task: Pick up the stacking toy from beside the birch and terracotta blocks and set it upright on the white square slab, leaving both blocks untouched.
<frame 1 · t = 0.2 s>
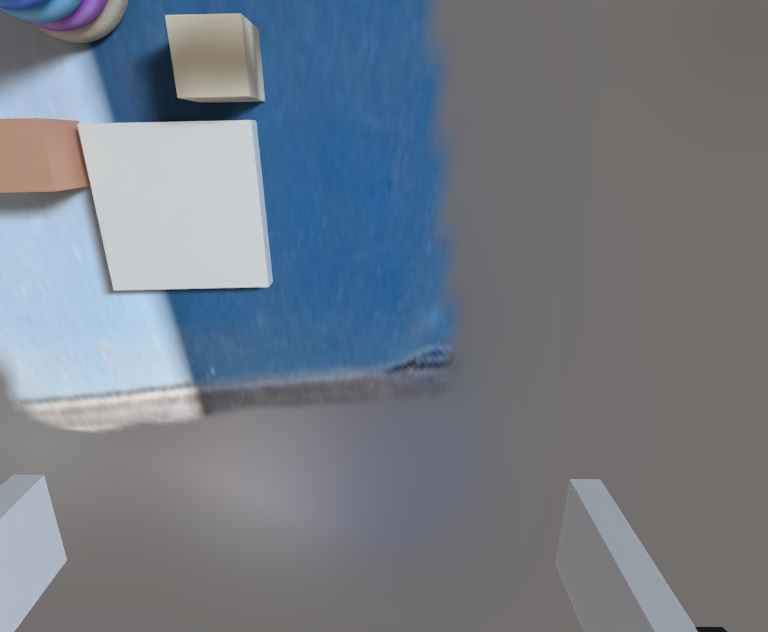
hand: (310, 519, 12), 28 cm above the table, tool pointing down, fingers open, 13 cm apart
terracotta block: (55, 154, 36), on the table
birch block: (229, 67, 34), on the table
white square slab: (186, 207, 37), on the table
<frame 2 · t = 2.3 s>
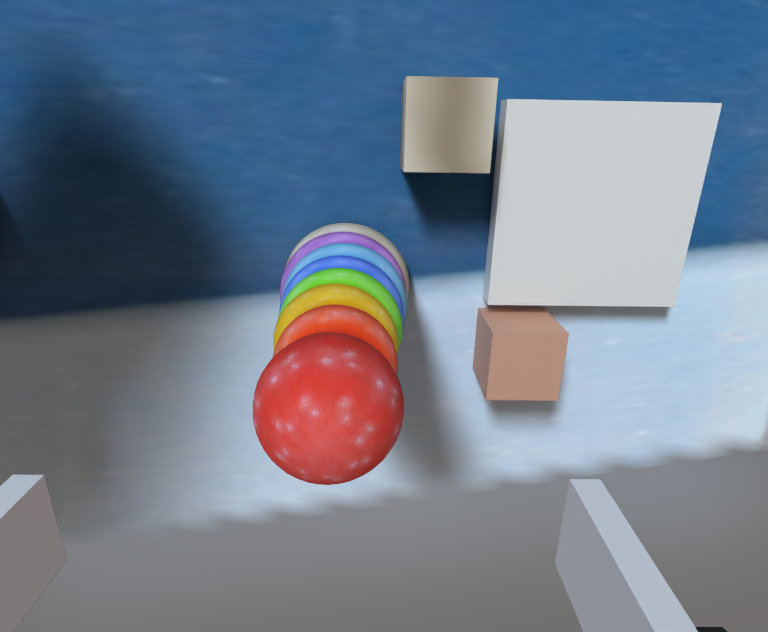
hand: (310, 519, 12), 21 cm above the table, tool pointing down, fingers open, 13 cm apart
terracotta block: (507, 338, 34), on the table
stacking toy: (347, 280, 32), on the table
birch block: (439, 127, 29), on the table
white square slab: (586, 207, 30), on the table
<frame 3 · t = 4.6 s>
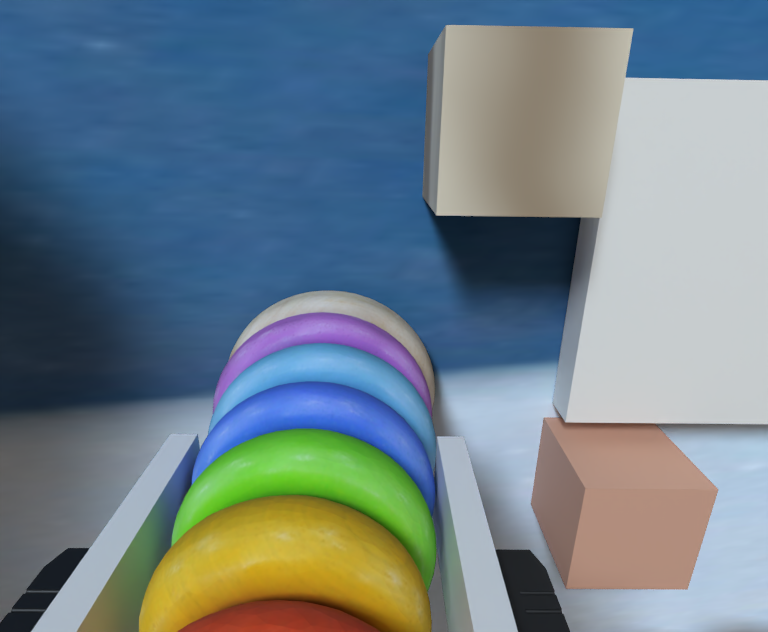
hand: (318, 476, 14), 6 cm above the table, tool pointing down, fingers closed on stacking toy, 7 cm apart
terracotta block: (587, 461, 21), on the table
stacking toy: (333, 375, 20), on the table, touching gripper
birch block: (490, 129, 17), on the table
white square slab: (733, 263, 18), on the table
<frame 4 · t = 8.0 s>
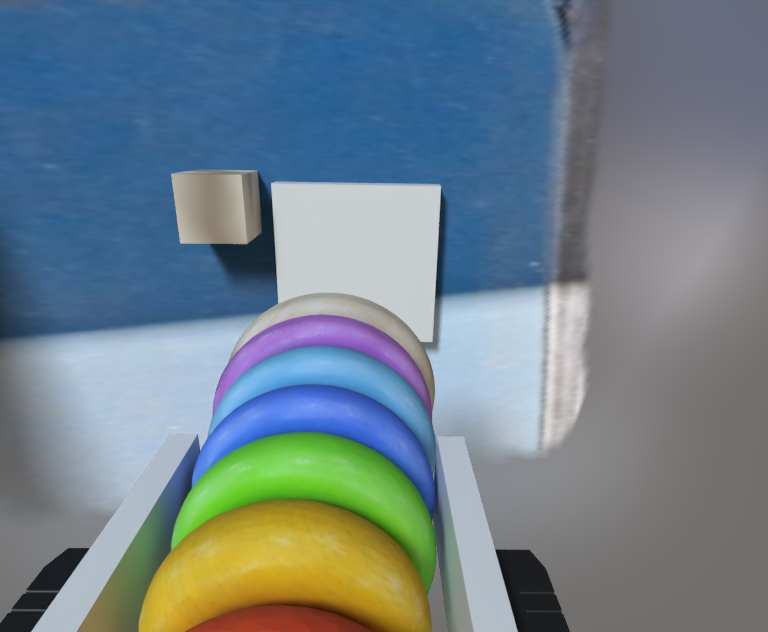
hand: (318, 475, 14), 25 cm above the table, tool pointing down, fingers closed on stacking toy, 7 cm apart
stacking toy: (333, 377, 20), point 19 cm above the table, touching gripper
birch block: (229, 201, 36), on the table
white square slab: (357, 262, 38), on the table
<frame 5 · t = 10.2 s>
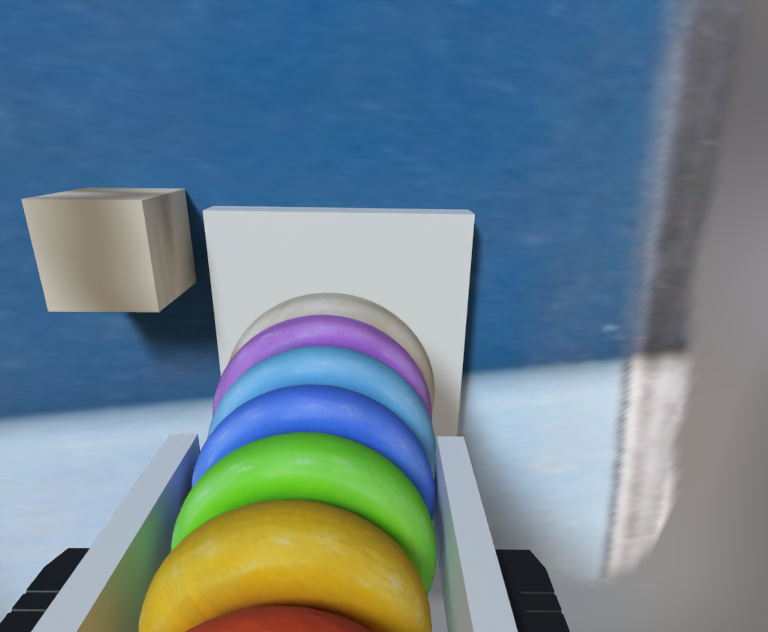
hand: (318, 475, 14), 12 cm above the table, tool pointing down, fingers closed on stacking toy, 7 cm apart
stacking toy: (333, 377, 20), point 5 cm above the table, touching gripper
birch block: (144, 236, 23), on the table
white square slab: (343, 326, 25), on the table
when the fingers open (8 cm above the table, at t = 11.8 s): stacking toy stays where it is, resting on white square slab.
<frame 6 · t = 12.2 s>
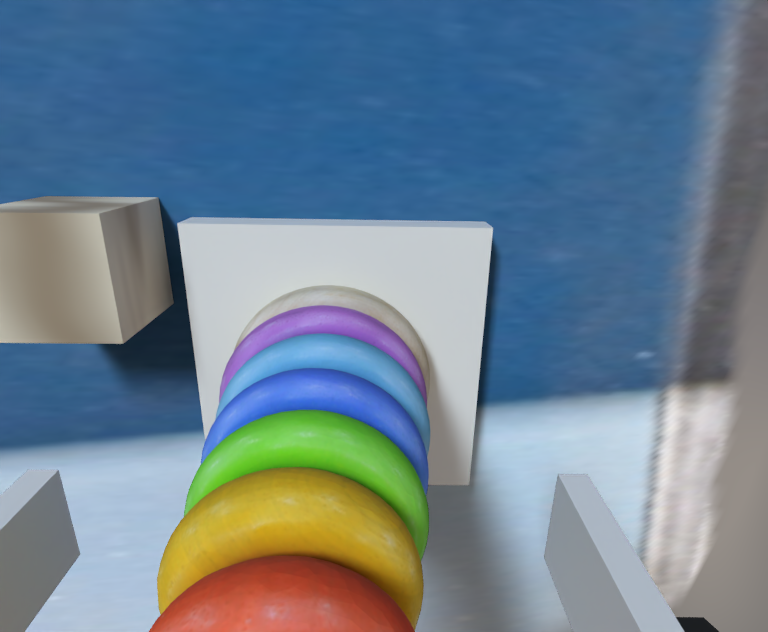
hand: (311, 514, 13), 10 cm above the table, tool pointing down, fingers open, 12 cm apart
stacking toy: (333, 367, 21), point 1 cm above the table, touching white square slab
birch block: (113, 251, 20), on the table
white square slab: (341, 353, 22), on the table
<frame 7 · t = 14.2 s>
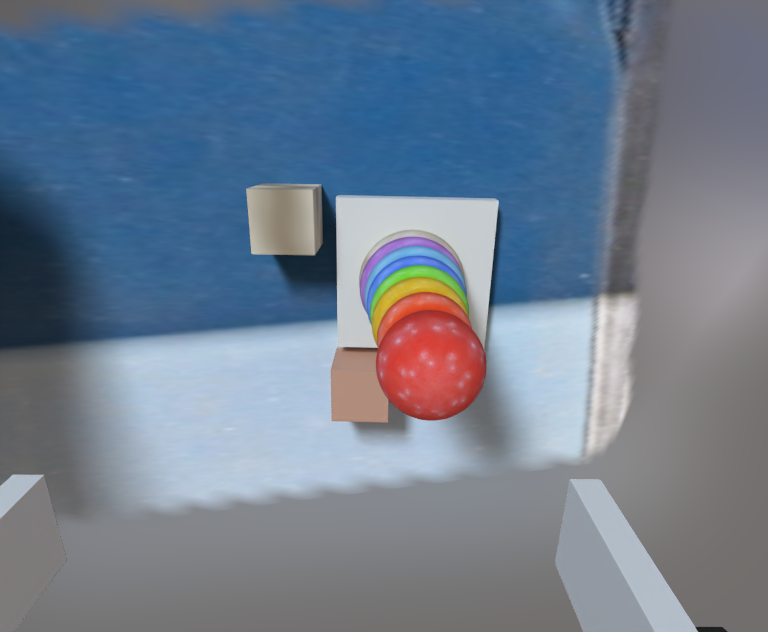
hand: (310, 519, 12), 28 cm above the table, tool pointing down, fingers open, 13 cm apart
terracotta block: (363, 371, 43), on the table
stacking toy: (411, 277, 38), point 1 cm above the table, touching white square slab
birch block: (293, 213, 38), on the table
white square slab: (413, 272, 39), on the table
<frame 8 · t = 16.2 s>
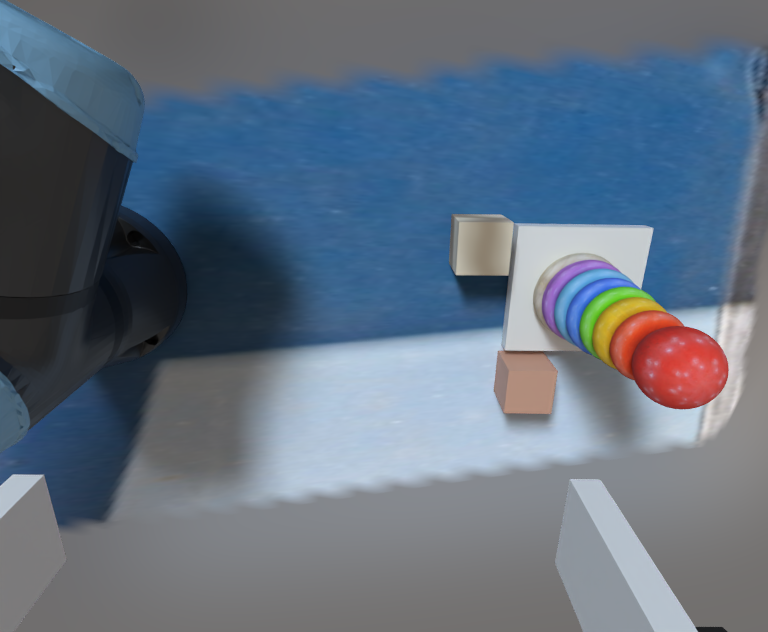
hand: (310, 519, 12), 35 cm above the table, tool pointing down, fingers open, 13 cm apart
terracotta block: (517, 370, 50), on the table
stacking toy: (572, 292, 45), point 1 cm above the table, touching white square slab
birch block: (474, 238, 45), on the table
white square slab: (570, 287, 47), on the table
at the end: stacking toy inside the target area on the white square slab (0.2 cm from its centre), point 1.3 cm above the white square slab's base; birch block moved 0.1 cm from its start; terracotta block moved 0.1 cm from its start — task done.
